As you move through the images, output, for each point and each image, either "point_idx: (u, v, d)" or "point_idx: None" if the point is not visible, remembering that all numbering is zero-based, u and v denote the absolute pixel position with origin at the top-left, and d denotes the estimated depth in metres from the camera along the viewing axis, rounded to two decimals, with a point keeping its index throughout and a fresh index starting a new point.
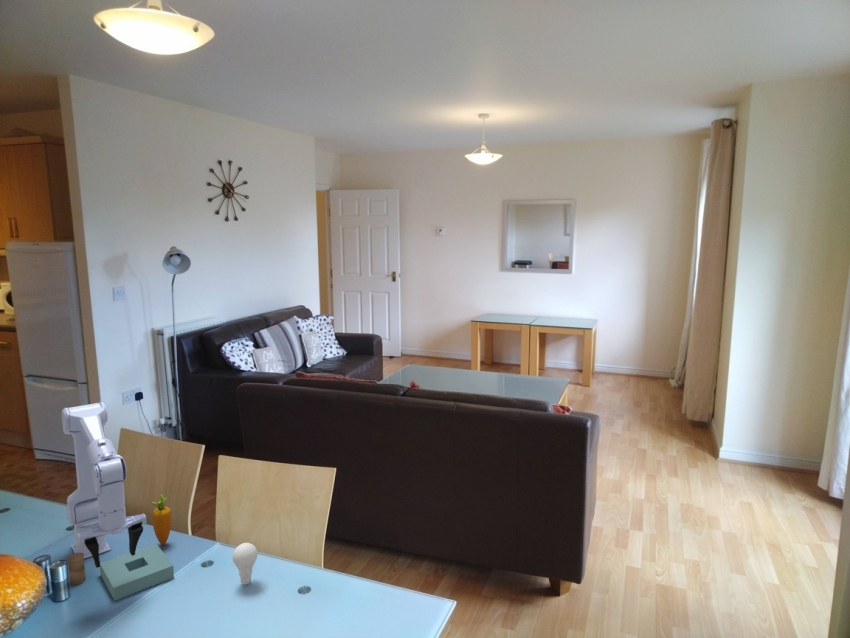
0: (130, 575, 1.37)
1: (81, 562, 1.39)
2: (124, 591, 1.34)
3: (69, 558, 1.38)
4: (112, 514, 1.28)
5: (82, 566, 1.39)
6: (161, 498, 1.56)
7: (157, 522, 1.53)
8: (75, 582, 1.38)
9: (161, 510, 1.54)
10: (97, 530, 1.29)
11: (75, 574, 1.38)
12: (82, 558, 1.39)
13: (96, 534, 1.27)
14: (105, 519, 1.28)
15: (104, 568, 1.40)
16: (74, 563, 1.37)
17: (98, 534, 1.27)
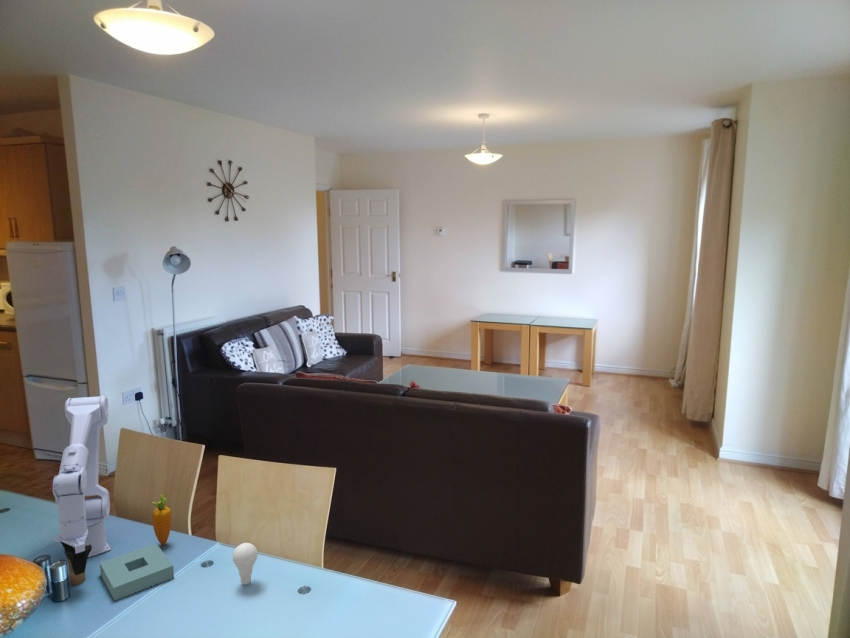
0: (130, 575, 1.37)
1: None
2: (124, 591, 1.34)
3: None
4: (59, 522, 1.36)
5: None
6: (161, 498, 1.56)
7: (157, 522, 1.53)
8: (75, 582, 1.38)
9: (161, 510, 1.54)
10: None
11: None
12: None
13: None
14: None
15: (104, 568, 1.40)
16: None
17: None
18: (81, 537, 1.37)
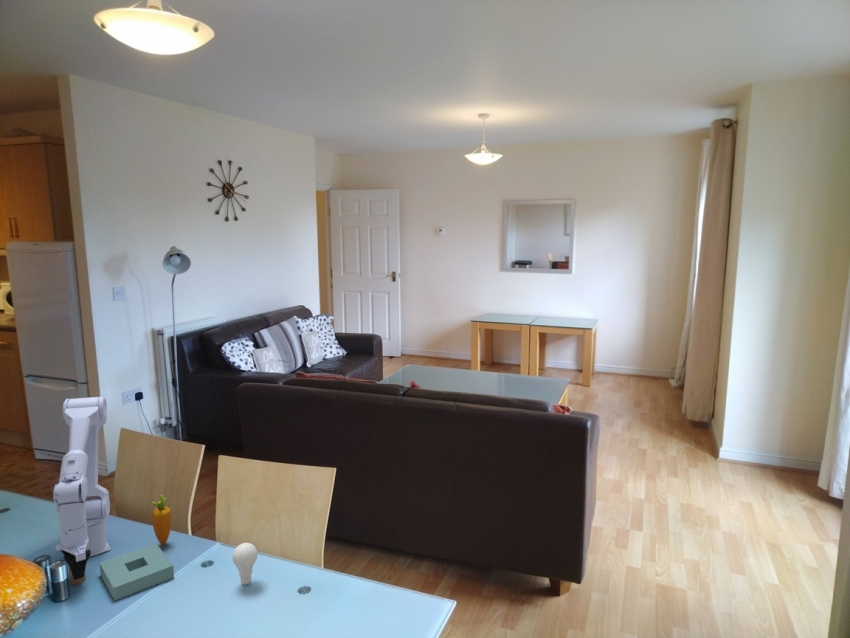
0: (130, 575, 1.37)
1: None
2: (124, 591, 1.34)
3: None
4: (60, 530, 1.36)
5: None
6: (161, 498, 1.56)
7: (157, 522, 1.53)
8: (75, 582, 1.38)
9: (161, 510, 1.54)
10: None
11: None
12: None
13: None
14: None
15: (104, 568, 1.40)
16: None
17: None
18: (82, 545, 1.37)
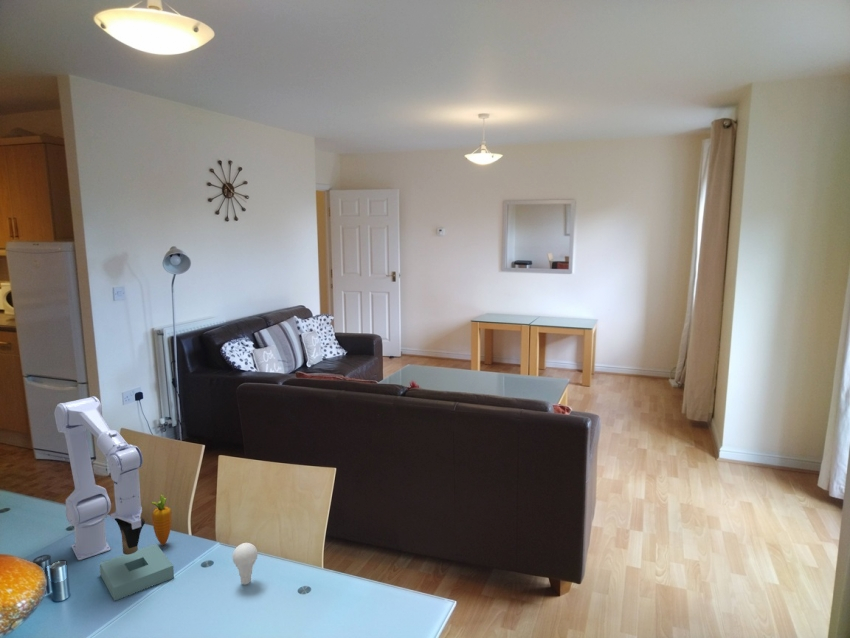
0: (130, 575, 1.37)
1: None
2: (124, 591, 1.34)
3: None
4: (115, 498, 1.37)
5: None
6: (161, 498, 1.56)
7: (157, 522, 1.53)
8: (128, 551, 1.39)
9: (161, 510, 1.54)
10: None
11: None
12: None
13: None
14: None
15: (104, 568, 1.40)
16: None
17: None
18: (136, 514, 1.38)
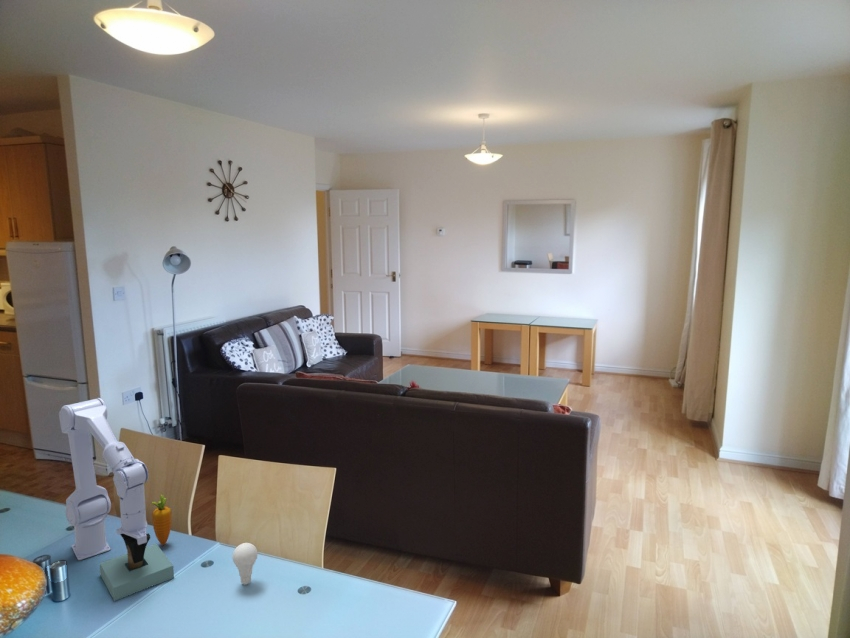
0: (130, 575, 1.37)
1: None
2: (124, 591, 1.34)
3: None
4: None
5: None
6: (161, 498, 1.56)
7: (157, 522, 1.53)
8: (133, 566, 1.40)
9: (161, 510, 1.54)
10: None
11: None
12: None
13: None
14: None
15: (104, 568, 1.40)
16: None
17: None
18: (142, 529, 1.39)
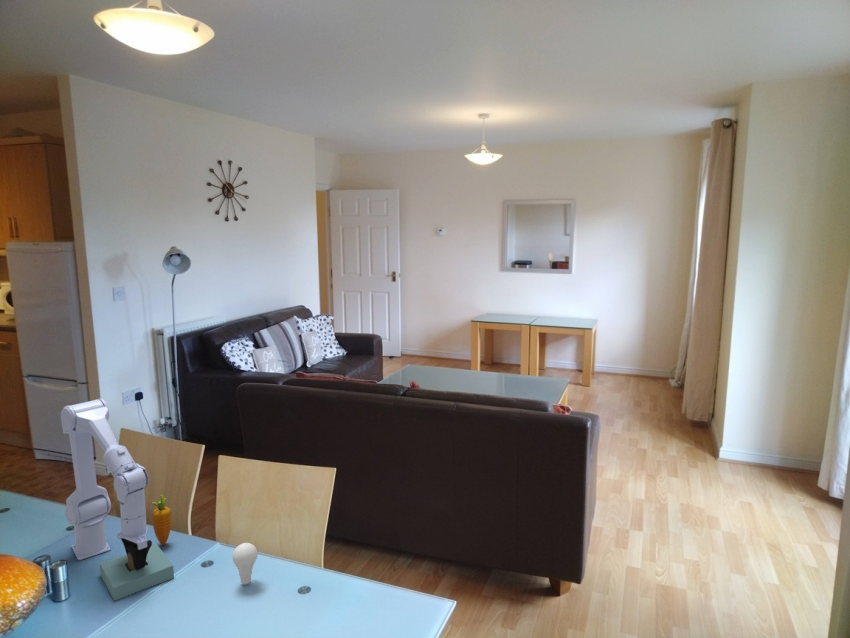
0: (130, 575, 1.37)
1: None
2: (124, 591, 1.34)
3: (129, 554, 1.40)
4: None
5: None
6: (161, 498, 1.56)
7: (157, 522, 1.53)
8: None
9: (161, 510, 1.54)
10: None
11: (134, 569, 1.40)
12: None
13: None
14: None
15: (104, 568, 1.40)
16: None
17: None
18: (142, 534, 1.39)
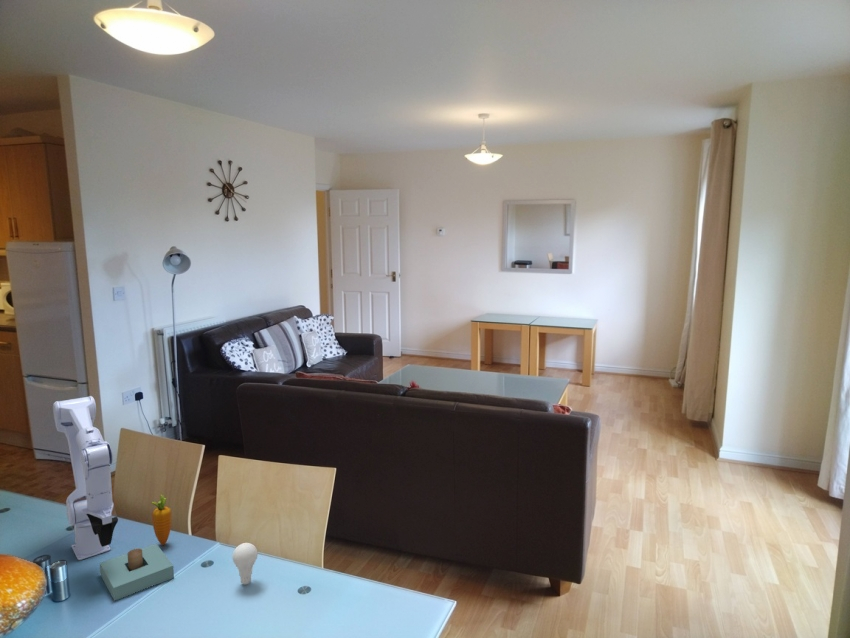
0: (130, 575, 1.37)
1: (140, 558, 1.41)
2: (124, 591, 1.34)
3: (129, 554, 1.40)
4: (86, 494, 1.38)
5: (141, 562, 1.41)
6: (161, 498, 1.56)
7: (157, 522, 1.53)
8: None
9: (161, 510, 1.54)
10: None
11: (134, 569, 1.40)
12: (141, 554, 1.41)
13: None
14: None
15: (104, 568, 1.40)
16: (133, 559, 1.40)
17: None
18: (107, 509, 1.39)
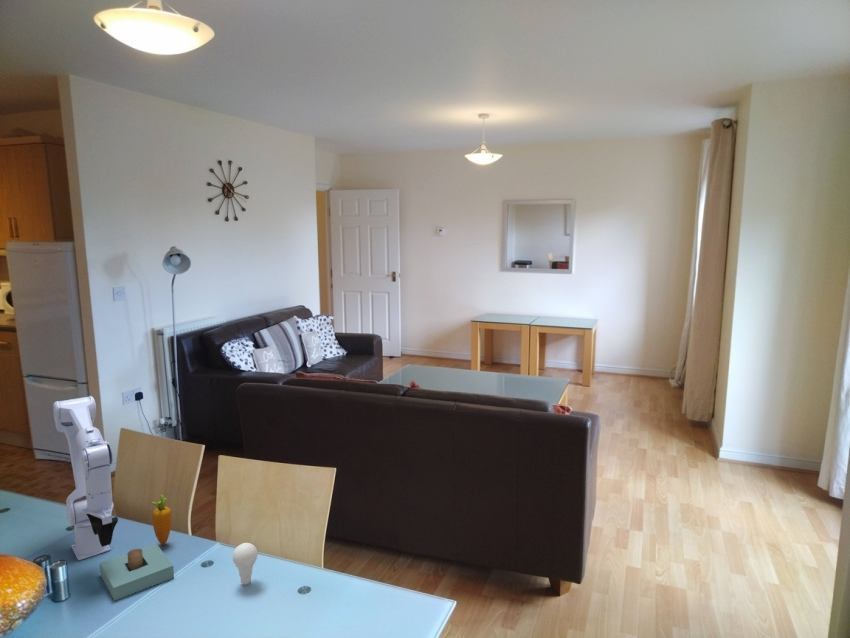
0: (130, 575, 1.37)
1: (140, 558, 1.41)
2: (124, 591, 1.34)
3: (129, 554, 1.40)
4: (86, 494, 1.38)
5: (141, 562, 1.41)
6: (161, 498, 1.56)
7: (157, 522, 1.53)
8: None
9: (161, 510, 1.54)
10: None
11: (134, 569, 1.40)
12: (141, 554, 1.41)
13: None
14: None
15: (104, 568, 1.40)
16: (133, 559, 1.40)
17: None
18: (107, 509, 1.39)
